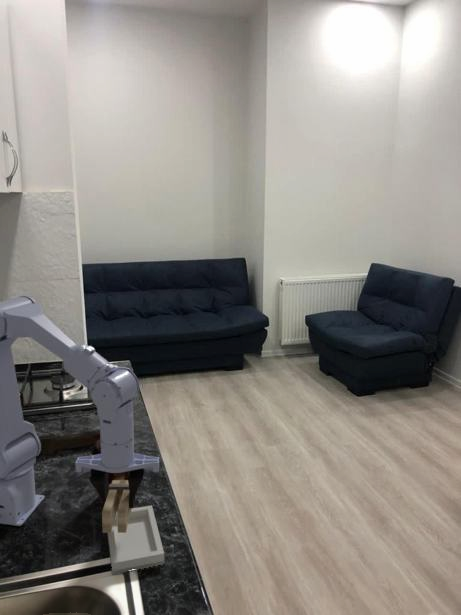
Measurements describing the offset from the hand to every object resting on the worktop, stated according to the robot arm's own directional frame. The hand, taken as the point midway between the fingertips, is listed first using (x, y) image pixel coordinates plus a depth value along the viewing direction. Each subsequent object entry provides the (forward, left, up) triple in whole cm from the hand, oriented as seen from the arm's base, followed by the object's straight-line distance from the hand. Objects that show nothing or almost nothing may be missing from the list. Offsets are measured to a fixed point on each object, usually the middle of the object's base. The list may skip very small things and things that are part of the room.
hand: (119, 504), depth 92 cm
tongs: (0, 0, -2) cm, 2 cm away
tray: (+1, -2, -8) cm, 9 cm away
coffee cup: (+13, +7, -9) cm, 17 cm away
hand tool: (+30, +24, -9) cm, 40 cm away
